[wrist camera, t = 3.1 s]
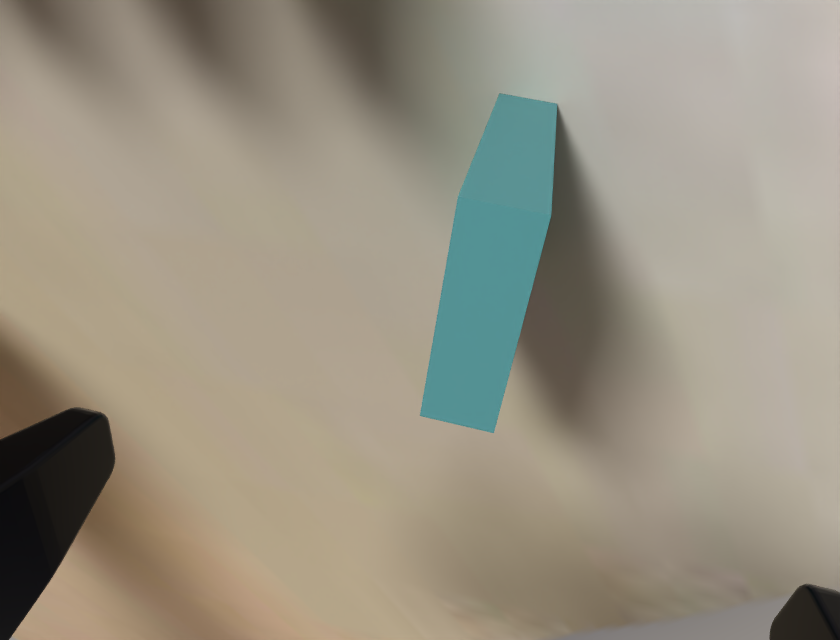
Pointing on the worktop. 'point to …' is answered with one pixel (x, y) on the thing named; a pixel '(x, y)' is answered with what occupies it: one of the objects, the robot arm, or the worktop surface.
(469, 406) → the teal domino
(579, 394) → the worktop surface
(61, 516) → the robot arm
